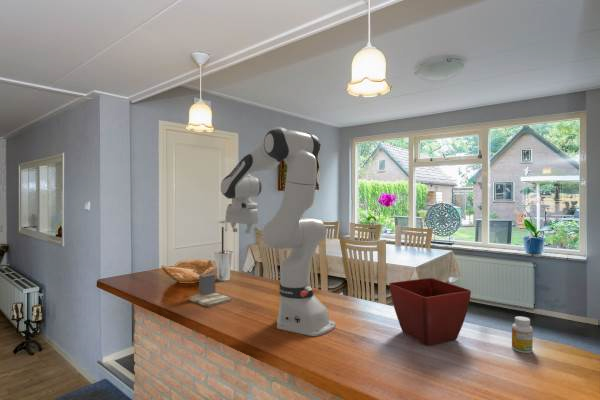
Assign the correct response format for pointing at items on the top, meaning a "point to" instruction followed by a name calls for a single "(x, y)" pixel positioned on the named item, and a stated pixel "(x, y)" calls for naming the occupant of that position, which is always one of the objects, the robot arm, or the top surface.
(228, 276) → the toilet brush holder
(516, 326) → the supplement bottle
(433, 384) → the top surface
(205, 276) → the block
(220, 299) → the board
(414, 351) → the top surface
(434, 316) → the plant pot
